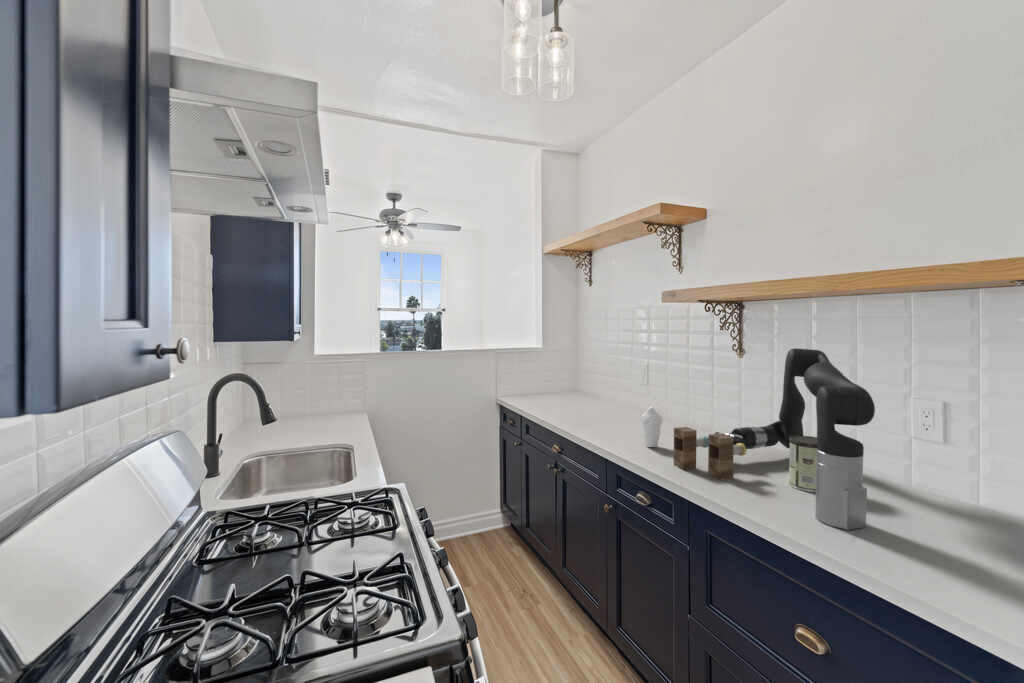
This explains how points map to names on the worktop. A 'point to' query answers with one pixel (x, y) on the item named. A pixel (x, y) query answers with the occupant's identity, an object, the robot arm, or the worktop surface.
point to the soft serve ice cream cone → (651, 427)
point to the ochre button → (739, 449)
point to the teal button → (702, 442)
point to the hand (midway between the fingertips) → (707, 441)
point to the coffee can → (803, 463)
